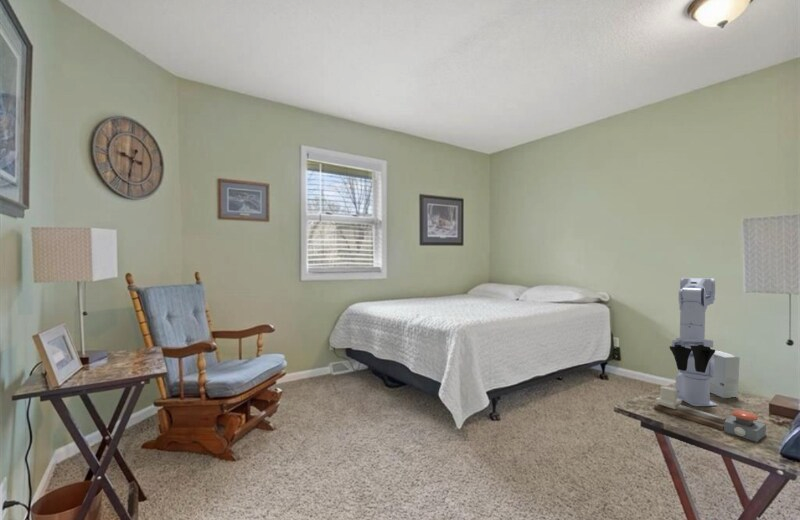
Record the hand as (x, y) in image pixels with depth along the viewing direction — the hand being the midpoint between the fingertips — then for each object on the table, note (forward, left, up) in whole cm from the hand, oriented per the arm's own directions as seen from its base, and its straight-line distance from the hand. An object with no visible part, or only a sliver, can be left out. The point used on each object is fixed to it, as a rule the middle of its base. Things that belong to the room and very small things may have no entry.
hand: (690, 371), depth 111 cm
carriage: (-10, +1, -15) cm, 18 cm away
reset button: (+6, +10, -14) cm, 18 cm away
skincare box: (-22, +29, -16) cm, 39 cm away
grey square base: (+6, +10, -16) cm, 20 cm away
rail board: (-5, +4, -16) cm, 17 cm away
